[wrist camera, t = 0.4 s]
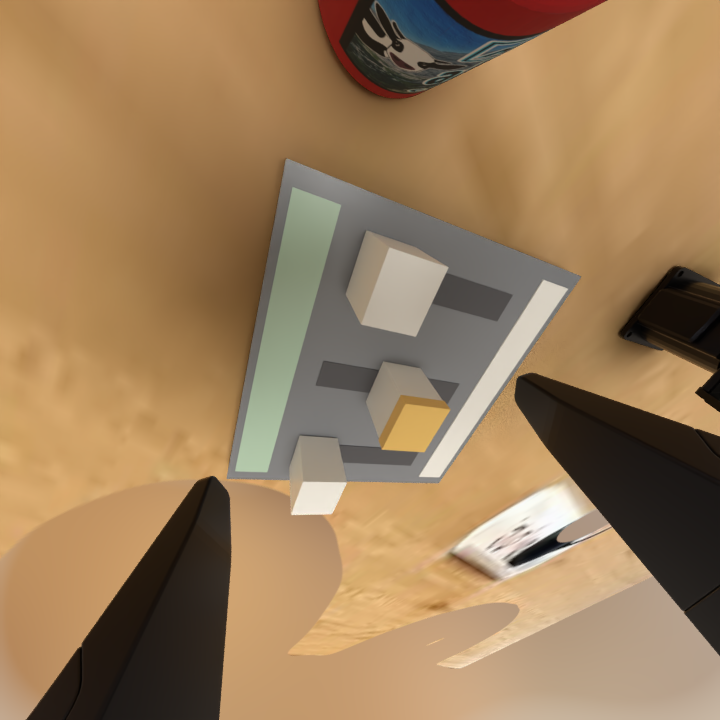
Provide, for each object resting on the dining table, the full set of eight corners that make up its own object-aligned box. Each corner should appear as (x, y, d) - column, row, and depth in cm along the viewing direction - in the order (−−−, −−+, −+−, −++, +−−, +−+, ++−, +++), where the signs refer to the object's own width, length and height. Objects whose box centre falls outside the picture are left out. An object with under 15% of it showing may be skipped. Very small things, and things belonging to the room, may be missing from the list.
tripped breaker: (421, 367, 22) (450, 409, 18) (401, 406, 23) (424, 452, 20) (382, 360, 20) (405, 403, 17) (364, 402, 22) (381, 449, 18)
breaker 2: (415, 247, 17) (448, 267, 13) (391, 306, 18) (415, 336, 15) (366, 230, 16) (389, 247, 12) (345, 294, 17) (361, 324, 14)
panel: (564, 270, 22) (582, 276, 20) (432, 470, 32) (438, 484, 30) (285, 158, 15) (286, 158, 13) (229, 463, 25) (226, 479, 23)
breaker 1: (337, 438, 24) (346, 482, 20) (325, 468, 25) (331, 514, 22) (299, 435, 22) (303, 481, 19) (289, 467, 24) (290, 514, 21)
